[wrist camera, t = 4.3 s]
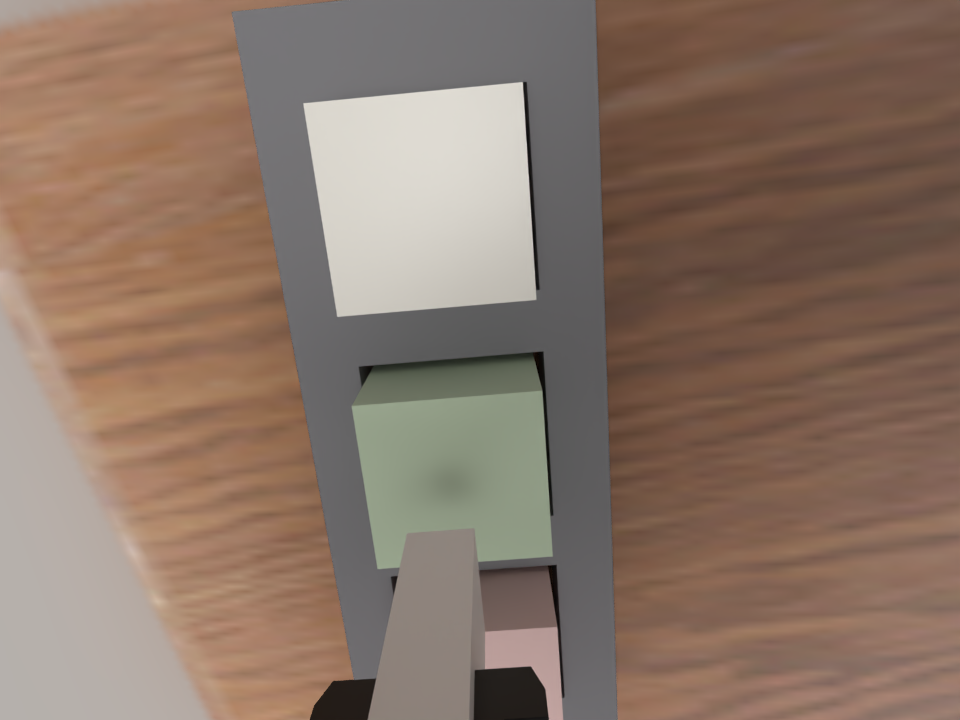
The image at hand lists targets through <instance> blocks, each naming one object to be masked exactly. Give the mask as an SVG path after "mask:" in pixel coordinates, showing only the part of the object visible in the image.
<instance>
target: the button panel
mask: <svg viewBox="0 0 960 720" xmlns="http://www.w3.org/2000/svg"><path fill="white" fill-rule="evenodd" d="M232 16H233V22H234V27H235V33H236V38H237V44H238V49H239V55H240V60H241V65H242V71H243V76H244V82H245V87H246V93H247V98H248V104H249V109H250V115H251V120H252V126H253V131H254V136H255V142H256V147H257V153H258V158H259V164H260V169H261V175H262V180H263V186H264V191H265V196H266V202H267V207H268V213H269V218H270V224H271V229H272V235H273V240H274V246H275V251H276V256H277V262H278V267H279V273H280V278H281V284H282V289H283V295H284V300H285V306H286V311H287V316H288V322H289V327H290V333H291V338H292V344H293V349H294V355H295V360H296V366H297V371H298V377H299V382H300V387H301V393H302V398H303V404H304V409H305V415H306V420H307V426H308V431H309V437H310V442H311V447H312V453H313V458H314V464H315V469H316V475H317V480H318V486H319V491H320V497H321V502H322V507H323V513H324V518H325V524H326V529H327V535H328V540H329V546H330V551H331V557H332V562H333V568H334V573H335V578H336V584H337V589H338V595H339V600H340V606H341V611H342V617H343V622H344V628H345V633H346V638H347V644H348V649H349V655H350V660H351V666H352V671H353V677H354V680H359V679H374V678H377V673H378V668H379V664H380V659H381V654H382V649H383V645H384V640H385V635H386V630H387V626H388V621H389V616H390V611H391V607H392V602H393V597H394V592H395V588H396V583H397V578H398V573H399V569H400V568H386V569H377V562H376V556H375V550H374V544H373V537H372V531H371V525H370V518H369V512H368V506H367V500H366V493H365V487H364V481H363V475H362V468H361V462H360V456H359V449H358V443H357V437H356V431H355V424H354V418H353V412H352V404H353V403H354V401H355V399H356V397H357V395H358V394H359V392H360V390H361V388H362V386H363V385H364V383H365V381H366V379H367V377H368V375H369V374H370V372H371V370H372V368H373V366H374V365H384V364H396V363H408V362H420V361H432V360H444V359H457V358H469V357H481V356H493V355H505V354H517V353H529V352H538V362H539V378H540V384H541V387H542V393H543V409H544V425H545V441H546V457H547V473H548V488H549V504H550V520H551V536H552V552H553V557H539V558H525V559H511V560H497V561H483V562H478V567H479V570H490V569H504V568H518V567H532V566H546V565H552V581H553V596H554V609H555V615H556V622H557V629H558V645H559V661H560V677H561V693H562V709H563V720H618V718H617V686H616V653H615V621H614V588H613V556H612V523H611V491H610V458H609V426H608V393H607V360H606V328H605V295H604V263H603V230H602V198H601V165H600V133H599V100H598V68H597V35H596V3H595V0H343V1H333V2H323V3H313V4H303V5H294V6H284V7H274V8H264V9H254V10H245V11H235V12H232ZM518 82H523V95H524V110H525V126H526V142H527V158H528V174H529V189H530V205H531V221H532V237H533V253H534V269H535V284H536V300H530V301H518V302H506V303H494V304H483V305H471V306H459V307H448V308H436V309H424V310H412V311H401V312H389V313H377V314H366V315H354V316H342V317H337V312H336V306H335V299H334V293H333V287H332V281H331V274H330V268H329V262H328V256H327V249H326V243H325V237H324V230H323V224H322V218H321V212H320V205H319V199H318V193H317V187H316V180H315V174H314V168H313V161H312V155H311V149H310V143H309V136H308V130H307V124H306V118H305V111H304V105H303V103H312V102H322V101H332V100H343V99H353V98H363V97H374V96H384V95H394V94H404V93H415V92H425V91H435V90H446V89H456V88H466V87H477V86H487V85H497V84H508V83H518Z"/></svg>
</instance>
